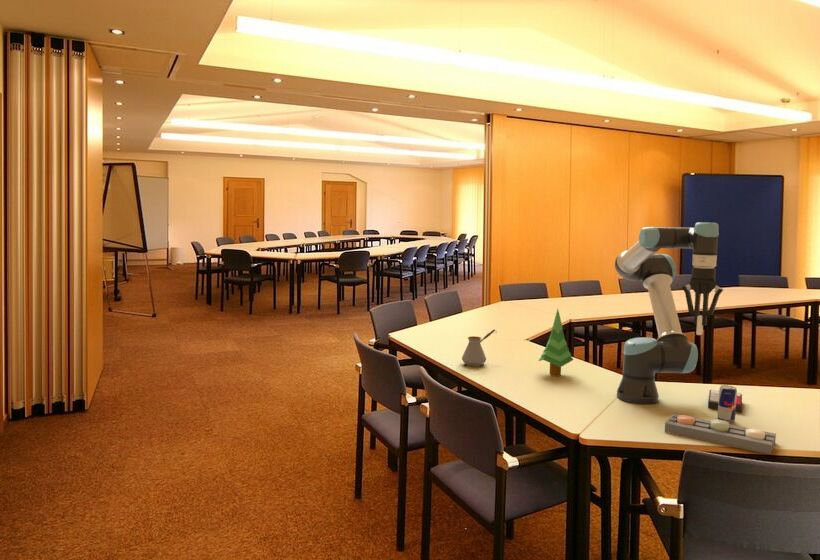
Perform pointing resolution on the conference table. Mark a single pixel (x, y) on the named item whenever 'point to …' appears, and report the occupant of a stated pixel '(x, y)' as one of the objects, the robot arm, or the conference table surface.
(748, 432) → the white button
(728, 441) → the button panel
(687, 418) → the terracotta button
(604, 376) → the conference table surface
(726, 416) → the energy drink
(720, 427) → the sage button
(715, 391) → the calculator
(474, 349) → the coffee pot
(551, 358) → the decorative tree
